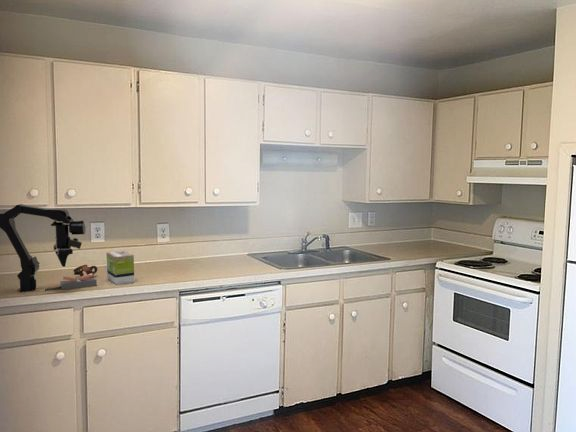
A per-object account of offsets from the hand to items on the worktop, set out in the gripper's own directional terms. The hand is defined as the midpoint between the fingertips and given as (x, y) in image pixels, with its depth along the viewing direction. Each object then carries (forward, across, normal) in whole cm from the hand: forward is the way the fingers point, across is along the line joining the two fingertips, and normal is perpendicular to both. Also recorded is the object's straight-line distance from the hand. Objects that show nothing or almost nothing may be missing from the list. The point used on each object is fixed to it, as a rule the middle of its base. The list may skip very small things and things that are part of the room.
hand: (63, 266), depth 231 cm
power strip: (+11, 0, -3) cm, 11 cm away
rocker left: (+7, 0, -2) cm, 7 cm away
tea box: (+11, +2, -28) cm, 30 cm away
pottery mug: (+11, +18, -13) cm, 25 cm away
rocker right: (+7, 0, -10) cm, 13 cm away
